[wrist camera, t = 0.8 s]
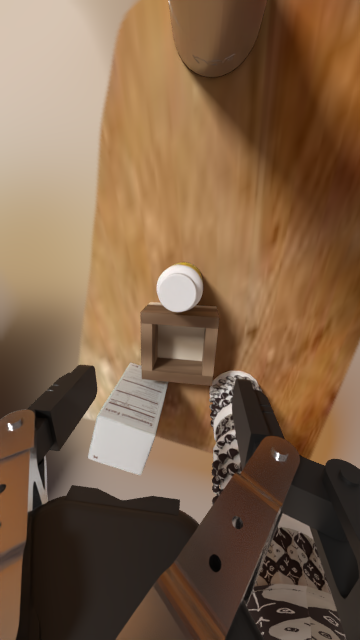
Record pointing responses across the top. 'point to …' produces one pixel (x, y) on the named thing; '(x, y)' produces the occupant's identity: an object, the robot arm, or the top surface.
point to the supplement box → (128, 422)
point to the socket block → (179, 344)
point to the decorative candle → (275, 546)
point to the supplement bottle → (180, 287)
